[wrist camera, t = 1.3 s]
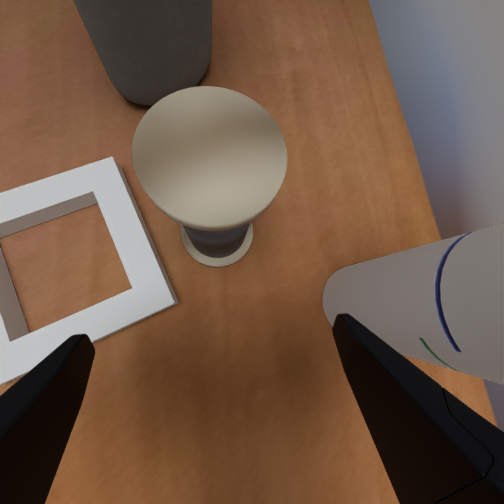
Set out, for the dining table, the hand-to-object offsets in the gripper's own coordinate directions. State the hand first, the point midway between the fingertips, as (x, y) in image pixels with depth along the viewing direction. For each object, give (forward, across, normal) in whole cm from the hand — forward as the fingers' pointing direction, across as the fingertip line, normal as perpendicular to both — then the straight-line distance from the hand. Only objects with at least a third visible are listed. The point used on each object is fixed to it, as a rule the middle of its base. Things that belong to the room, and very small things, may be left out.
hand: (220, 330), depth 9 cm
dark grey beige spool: (+14, 0, +4) cm, 15 cm away
